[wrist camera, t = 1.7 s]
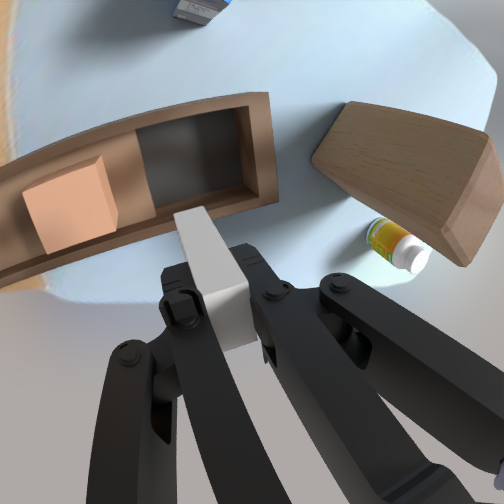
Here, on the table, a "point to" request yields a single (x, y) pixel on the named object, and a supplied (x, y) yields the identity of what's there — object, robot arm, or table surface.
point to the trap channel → (148, 175)
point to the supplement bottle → (396, 245)
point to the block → (417, 174)
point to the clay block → (72, 205)
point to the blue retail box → (199, 10)
